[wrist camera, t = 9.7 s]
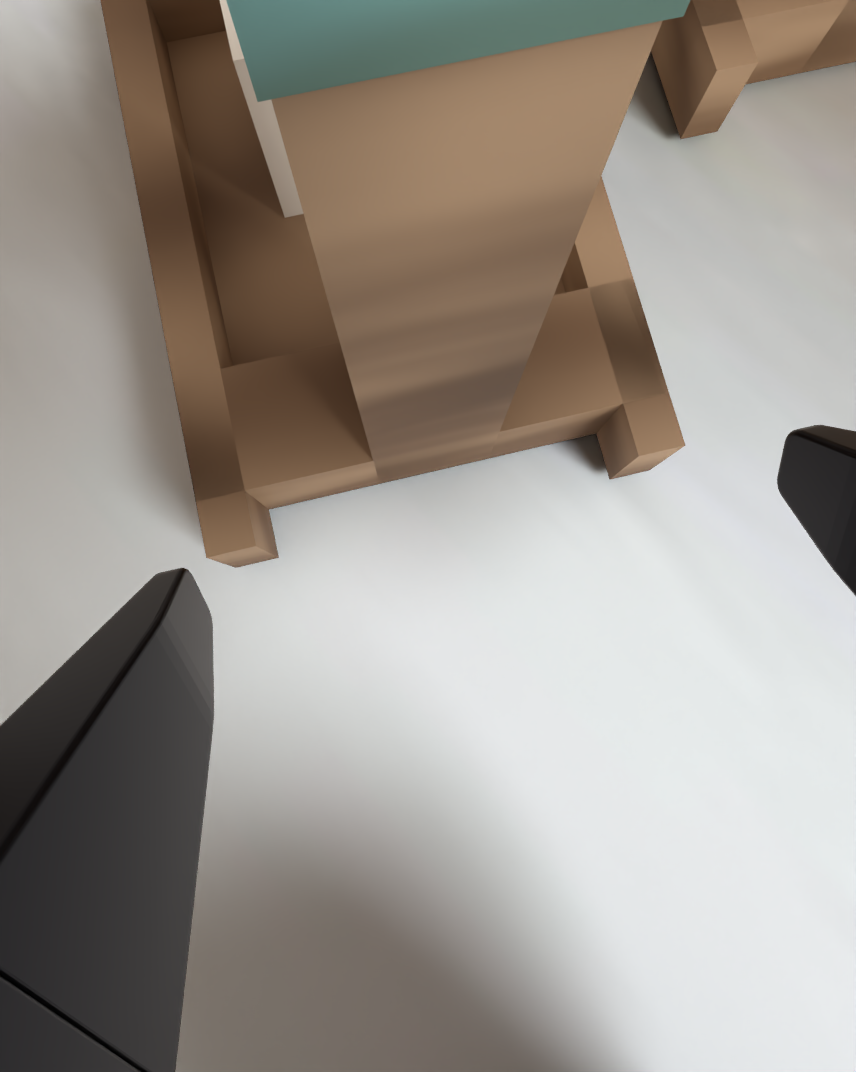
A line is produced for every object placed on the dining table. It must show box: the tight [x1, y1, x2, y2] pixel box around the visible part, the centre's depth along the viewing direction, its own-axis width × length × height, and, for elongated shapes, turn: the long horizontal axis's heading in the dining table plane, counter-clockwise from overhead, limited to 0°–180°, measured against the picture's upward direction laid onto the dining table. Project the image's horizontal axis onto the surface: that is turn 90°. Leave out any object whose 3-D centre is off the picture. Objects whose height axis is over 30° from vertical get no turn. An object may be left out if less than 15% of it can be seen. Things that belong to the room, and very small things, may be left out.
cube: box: [220, 0, 303, 218], centre depth 16 cm, size 5×5×5 cm
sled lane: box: [101, 0, 690, 567], centre depth 12 cm, size 17×12×14 cm
